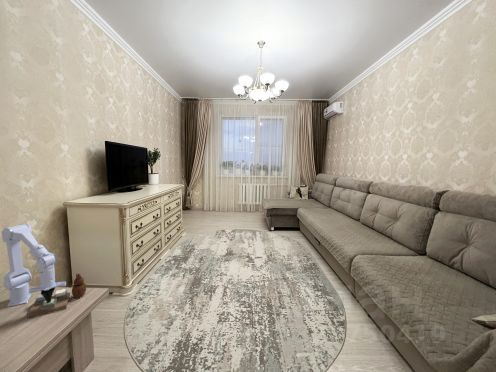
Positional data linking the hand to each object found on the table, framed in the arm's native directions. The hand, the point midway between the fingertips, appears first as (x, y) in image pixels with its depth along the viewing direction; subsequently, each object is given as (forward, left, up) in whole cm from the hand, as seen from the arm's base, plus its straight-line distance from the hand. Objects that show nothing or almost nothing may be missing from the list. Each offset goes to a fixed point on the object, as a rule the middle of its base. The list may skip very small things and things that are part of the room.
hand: (49, 301), depth 118 cm
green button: (0, 0, -2) cm, 2 cm away
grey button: (-7, -4, -1) cm, 8 cm away
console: (-4, 0, -4) cm, 6 cm away
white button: (-7, +4, -1) cm, 8 cm away
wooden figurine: (-7, +12, -5) cm, 15 cm away
